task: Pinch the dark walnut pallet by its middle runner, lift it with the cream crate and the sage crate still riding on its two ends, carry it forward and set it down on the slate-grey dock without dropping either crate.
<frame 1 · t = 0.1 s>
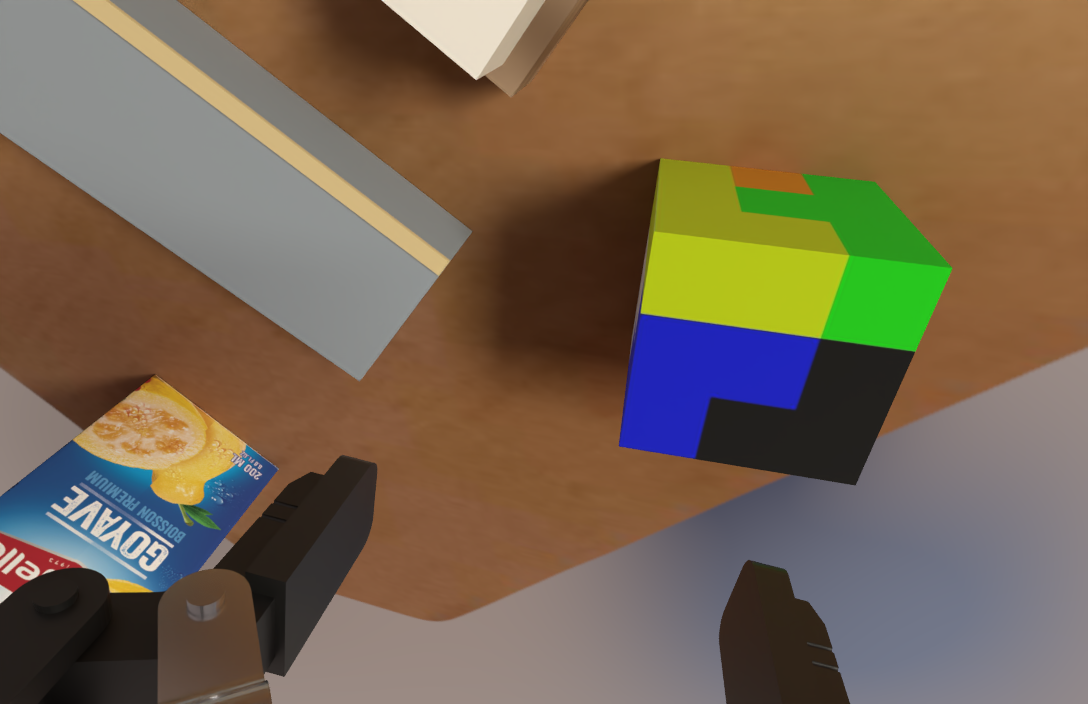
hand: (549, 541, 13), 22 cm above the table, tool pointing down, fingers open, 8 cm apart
slate dock: (231, 147, 34), on the table
beverage box: (200, 443, 48), on the table
puzzle toy: (741, 263, 33), on the table
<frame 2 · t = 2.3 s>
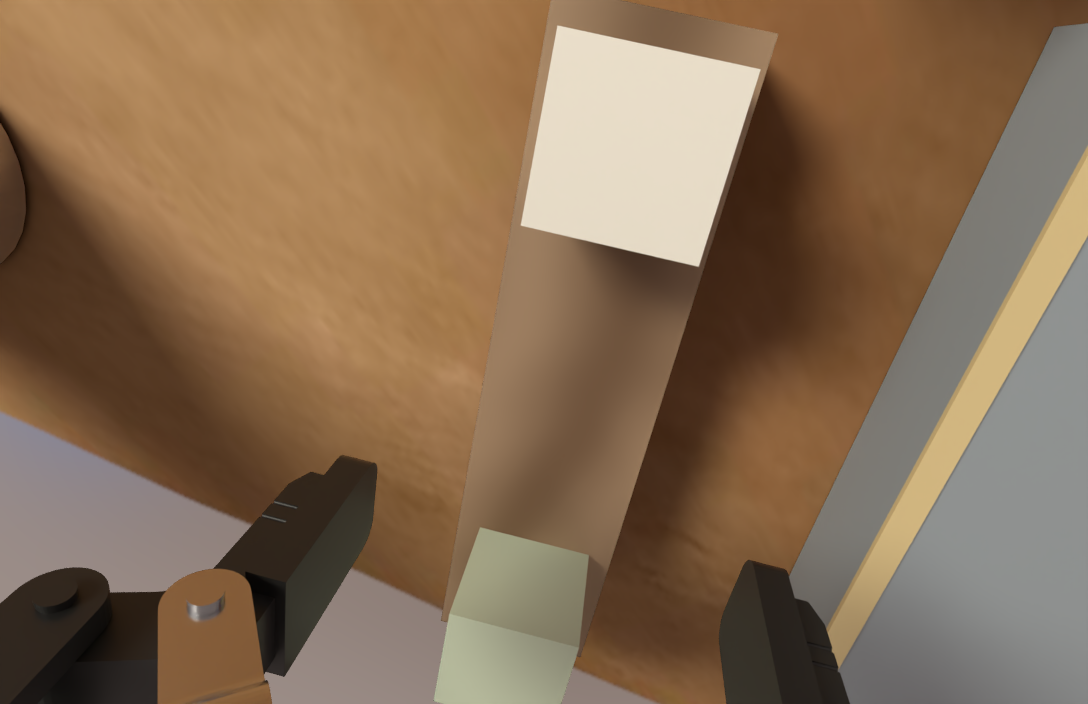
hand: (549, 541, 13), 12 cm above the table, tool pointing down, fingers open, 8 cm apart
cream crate: (633, 136, 17), point 4 cm above the table, touching walnut pallet
slate dock: (1003, 443, 23), on the table
sage crate: (524, 582, 23), point 4 cm above the table, touching walnut pallet
walnut pallet: (581, 342, 24), on the table, touching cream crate, sage crate
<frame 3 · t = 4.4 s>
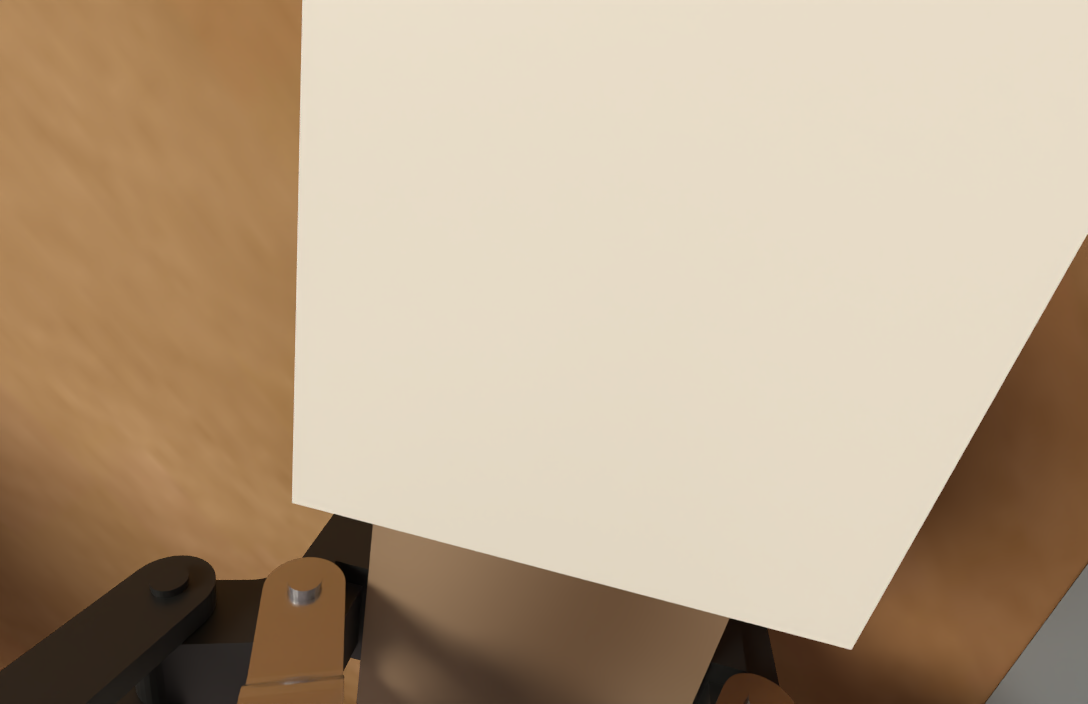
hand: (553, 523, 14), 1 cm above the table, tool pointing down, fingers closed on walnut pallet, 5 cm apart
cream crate: (643, 192, 7), point 4 cm above the table, touching walnut pallet
walnut pallet: (559, 503, 15), on the table, touching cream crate, gripper, sage crate
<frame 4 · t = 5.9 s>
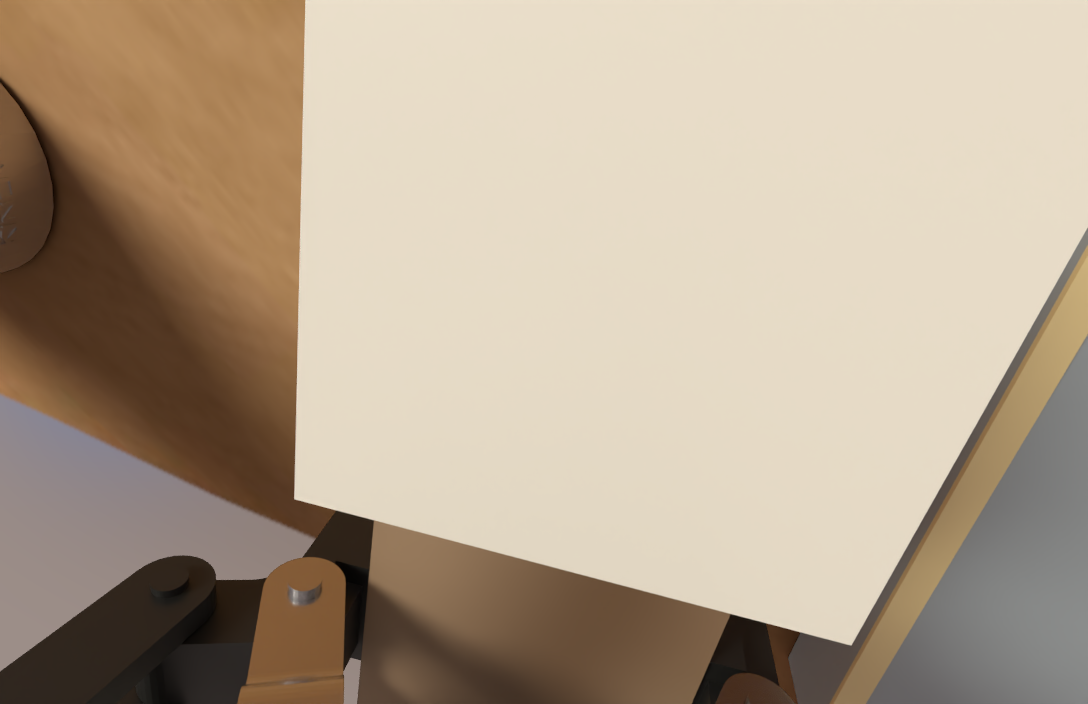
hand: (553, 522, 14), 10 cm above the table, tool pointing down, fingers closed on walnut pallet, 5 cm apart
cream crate: (643, 190, 7), point 14 cm above the table, touching walnut pallet
slate dock: (1059, 441, 22), on the table
walnut pallet: (559, 501, 15), point 10 cm above the table, touching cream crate, gripper, sage crate
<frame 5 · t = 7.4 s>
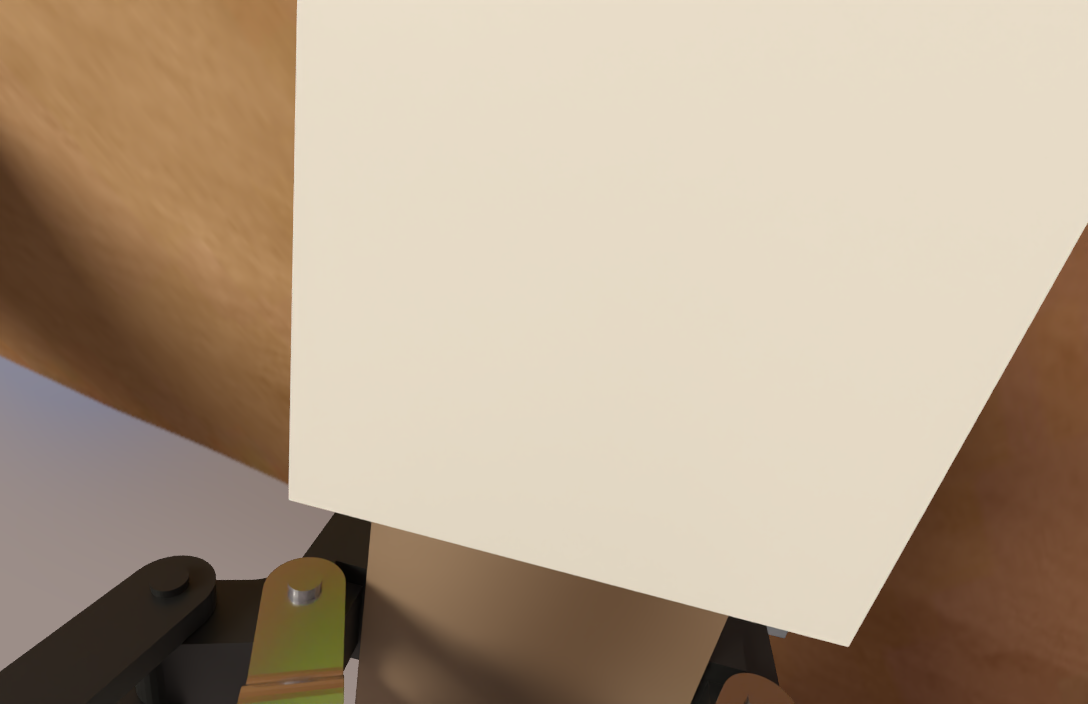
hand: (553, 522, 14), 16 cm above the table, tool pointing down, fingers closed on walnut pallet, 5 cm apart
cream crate: (641, 190, 7), point 20 cm above the table, touching walnut pallet
walnut pallet: (558, 502, 15), point 15 cm above the table, touching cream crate, gripper, sage crate
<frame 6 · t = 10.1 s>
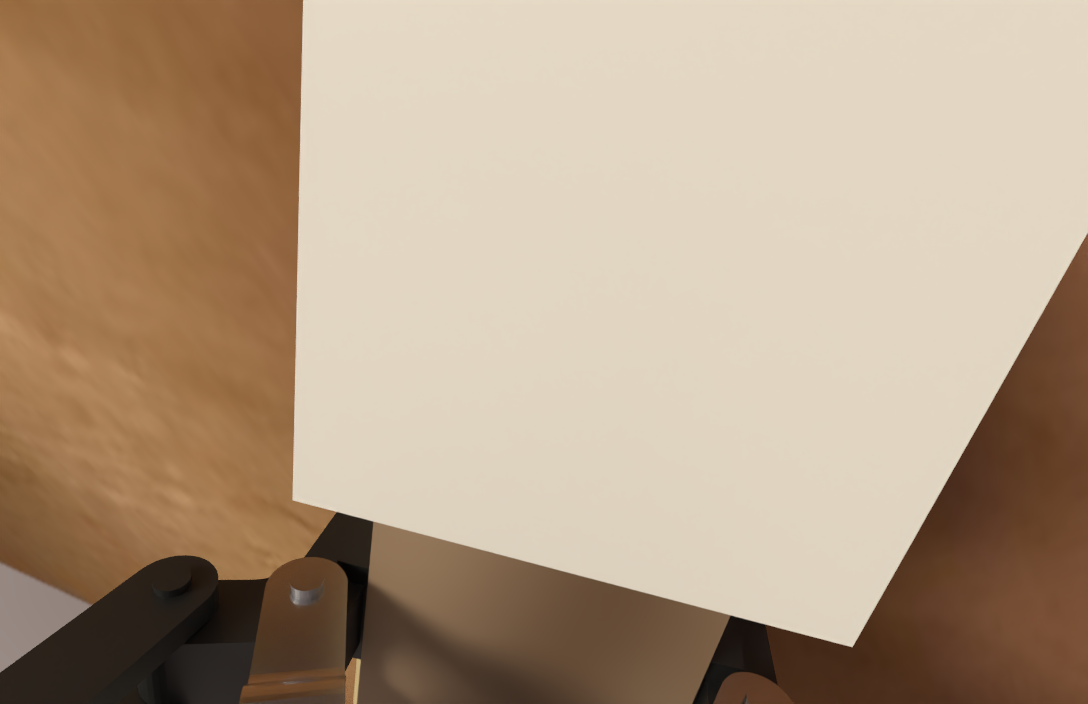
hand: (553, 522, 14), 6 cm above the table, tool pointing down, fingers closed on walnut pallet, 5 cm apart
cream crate: (643, 190, 7), point 10 cm above the table, touching walnut pallet
walnut pallet: (559, 502, 15), point 5 cm above the table, touching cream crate, gripper, sage crate
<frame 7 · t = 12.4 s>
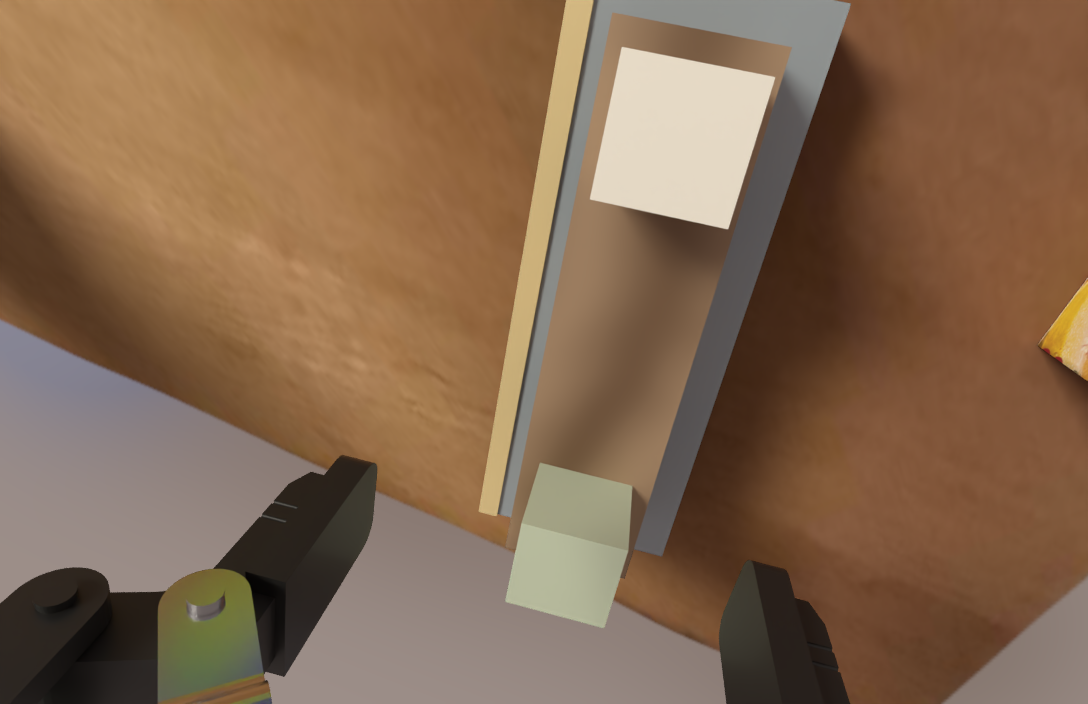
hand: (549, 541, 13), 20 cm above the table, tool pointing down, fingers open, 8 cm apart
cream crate: (673, 130, 21), point 8 cm above the table, touching walnut pallet
slate dock: (630, 282, 32), on the table
sage crate: (576, 511, 27), point 8 cm above the table, touching walnut pallet
walnut pallet: (625, 308, 28), point 4 cm above the table, touching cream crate, sage crate, slate dock
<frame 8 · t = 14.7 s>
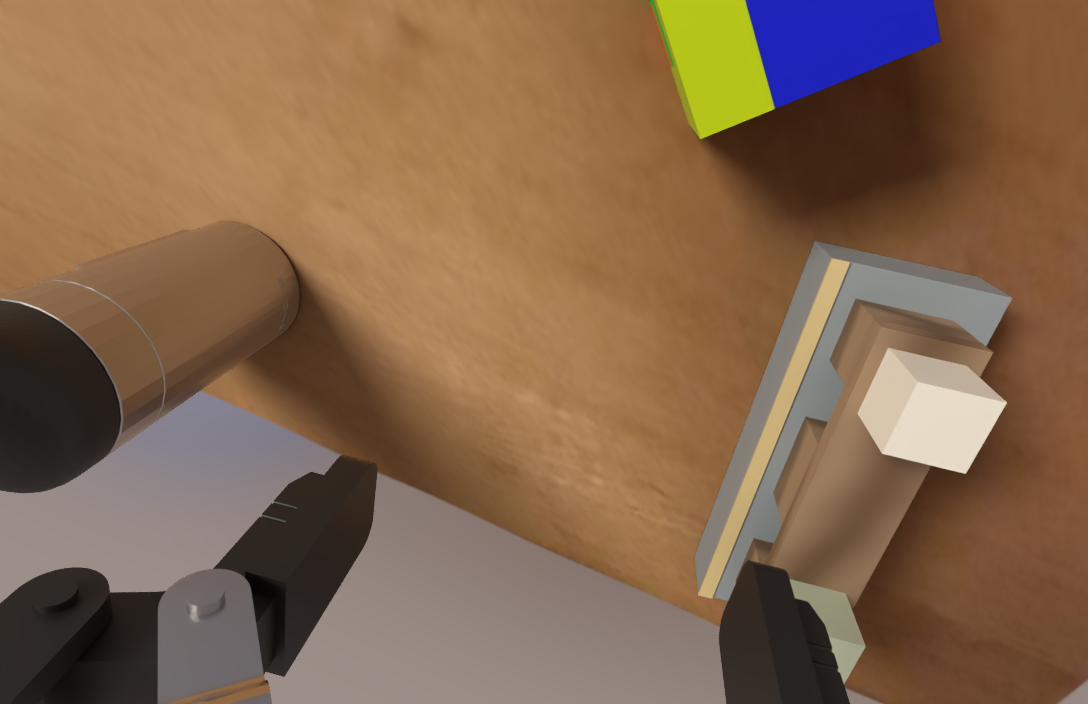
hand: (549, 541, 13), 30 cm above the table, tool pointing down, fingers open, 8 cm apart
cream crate: (910, 390, 33), point 8 cm above the table, touching walnut pallet
slate dock: (818, 434, 44), on the table
sage crate: (801, 608, 40), point 8 cm above the table, touching walnut pallet
walnut pallet: (831, 466, 41), point 4 cm above the table, touching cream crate, sage crate, slate dock
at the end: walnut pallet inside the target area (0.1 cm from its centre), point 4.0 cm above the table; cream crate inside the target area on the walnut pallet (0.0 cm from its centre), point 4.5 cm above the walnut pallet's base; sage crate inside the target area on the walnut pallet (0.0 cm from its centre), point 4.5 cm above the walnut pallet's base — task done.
